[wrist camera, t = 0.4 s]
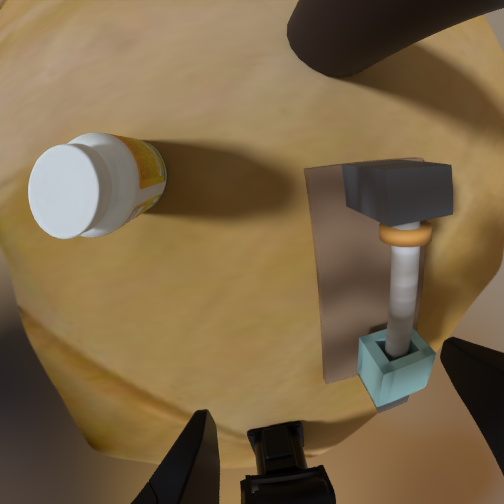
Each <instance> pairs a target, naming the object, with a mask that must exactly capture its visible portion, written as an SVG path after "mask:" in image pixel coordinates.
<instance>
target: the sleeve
mask: <svg viewBox="0 0 504 504" xmlns="http://www.w3.org/2000/svg"><path fill="white" fill-rule="evenodd" d="M386 335H387V329H385V330H381V331H378V332H375V333H372V334H369V335H366V336H362V337H359V352H358V366H357V371H358V373H359V375H360V377H361V379H362V380H363V382H364V384H365V386H366V388H367V390H368V391H369V393H370V395H371V397H372V399H373V401H374V403H375V405H376V407H380V406H382V405H385V404H388V403H390V402H393V401H395V400H398V399H400V398H402V397H405V396H407V395H409V394H411V393H414V392H416V391H418V390H420V389H423V388H425V387H426V384H427V381H428V378H429V375H430V372H431V369H432V365H433V362H434V359H435V355H436V353H435V352H434V351H433V349H432V348H431V347H430V346H429V345H428V344H427V343H426V342H425V341H424V339H423V338H422V337H421V336H420V335H419V334H418V333H417V332H416V331H415V330H414V329H413V328H412V332H411V338H410V344H409V349H408V354H407V356H404V357H402V358H399V359H397V360H394V361H391V362H389V360H388V359H387V357H386V356H385V355H384V351H385V343H386Z"/></svg>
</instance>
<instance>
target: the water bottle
mask: <svg viewBox="0 0 504 504" xmlns="http://www.w3.org/2000/svg"><path fill="white" fill-rule="evenodd" d="M502 8H504V0H299V1H298V3H297V5H296V7H295V9H294V11H293V14H292V16H291V18H290V20H289V22H288V24H287V37H288V40H289V43H290V46H291V48H292V50H293V51H294V52H295V54H296V55H297V56H298V58H299V59H300V60H302V61H303V62H304V63H305V64H306V65H308V66H309V67H310V68H312V69H314V70H316V71H318V72H320V73H322V74H326V75H331V76H336V77H341V76H351V75H354V74H356V73H359V72H361V71H363V70H364V69H366V68H368V67H370V66H372V65H373V64H375V63H377V62H379V61H381V60H382V59H384V58H386V57H388V56H390V55H392V54H394V53H396V52H398V51H400V50H402V49H403V48H405V47H407V46H409V45H412V44H414V43H416V42H418V41H420V40H422V39H424V38H426V37H428V36H431V35H433V34H435V33H437V32H440V31H442V30H444V29H447V28H449V27H451V26H454V25H456V24H459V23H461V22H464V21H466V20H469V19H472V18H474V17H477V16H480V15H483V14H486V13H489V12H492V11H495V10H498V9H502Z"/></svg>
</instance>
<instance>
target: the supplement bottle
mask: <svg viewBox="0 0 504 504" xmlns="http://www.w3.org/2000/svg"><path fill="white" fill-rule="evenodd" d="M166 178H167V173H166V167H165V164H164V161H163V158H162V157H161V155H160V153H159V152H158V151H157V150H156V149H155V148H154V147H153V146H152V145H151V144H149V143H147V142H145V141H142V140H138V139H133V138H128V137H123V136H117V135H112V134H107V133H100V132H93V133H87V134H83V135H81V136H78V137H76V138H75V139H73V140H72V141H70V142H69V143H68V144H60V145H57V146H54V147H52V148H50V149H48V150H47V151H46V152H45V153H43V154H42V155H41V157H40V158H39V159H38V161H37V162H36V164H35V166H34V168H33V170H32V173H31V176H30V180H29V188H28V197H29V203H30V207H31V210H32V213H33V216H34V218H35V220H36V221H37V223H38V224H39V226H40V227H41V228H42V229H43V230H44V231H46V232H47V233H48V234H50V235H51V236H53V237H56V238H60V239H70V238H74V237H77V236H79V235H80V236H84V237H101V236H105V235H107V234H110V233H112V232H114V231H115V230H117V229H119V228H120V227H122V226H123V225H125V224H126V223H128V222H129V221H131V220H132V219H134V218H136V217H137V216H139V215H140V214H142V213H143V212H145V211H146V210H148V209H149V208H151V207H152V206H153V205H154V204H155V203H156V202H157V201H158V200H159V198H160V197H161V195H162V193H163V191H164V188H165V185H166Z"/></svg>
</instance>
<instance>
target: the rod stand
mask: <svg viewBox="0 0 504 504" xmlns="http://www.w3.org/2000/svg"><path fill="white" fill-rule="evenodd" d="M304 172H305V179H306V186H307V193H308V200H309V207H310V215H311V223H312V231H313V240H314V249H315V259H316V269H317V280H318V292H319V305H320V319H321V336H322V357H323V378H324V381H325V383H326V384H328V383H332V382H335V381H339V380H342V379H346V378H349V377H352V376H356V375H359V373H358V371H357V366H358V352H359V337H362V336H366V335H369V334H372V333H375V332H378V331H381V330H385V329H387V335H386V343H385V351H384V355H385V356H386V357H387V359H388V360H389V362H391V361H394V360H397V359H399V358H402V357H404V356H407V354H408V349H409V344H410V338H411V332H412V328H413V329H414V330H415V331H416V329H417V323H418V317H419V310H420V303H421V294H422V285H423V274H424V261H425V245H426V244H428V243H429V242H431V240H432V225H431V223H429V222H427V221H426V220H428V219H433V218H438V217H443V216H448V215H453V186H452V167H451V165H448V164H440V163H431V162H423V158H400V159H386V160H375V161H364V162H354V163H345V164H336V165H328V166H320V167H313V168H306V169H304ZM359 377H360V375H359ZM360 379H361V377H360ZM361 380H362V379H361ZM362 382H363V380H362ZM363 384H364V382H363ZM364 386H365V384H364ZM365 388H366V386H365ZM366 390H367V388H366ZM367 392H368V393H369V391H368V390H367ZM369 395H370V393H369ZM409 395H410V394H409ZM409 395H407V396H405V397H402V398H400V399H398V400H395V401H393V402H390V403H388V404H385V405H382V406H380V407H376V405H375V403H374V401H373V399H372V397H371V395H370V397H371V399H372V401H373V403H374V405H375V407H376V409H377V411H378V412H379V413H380V412H383V411H385V410H388V409H391V408H393V407H395V406H398V405H400V404H403V403H405V402H407V400H408V398H409Z"/></svg>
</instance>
